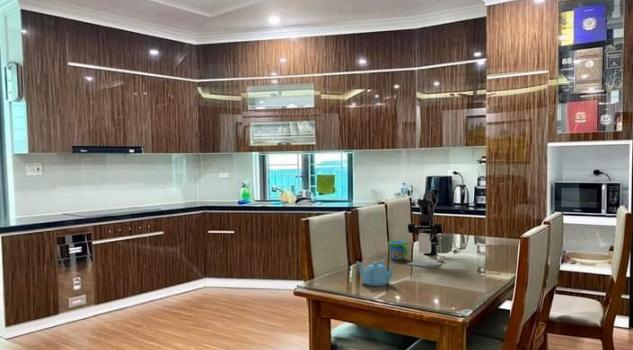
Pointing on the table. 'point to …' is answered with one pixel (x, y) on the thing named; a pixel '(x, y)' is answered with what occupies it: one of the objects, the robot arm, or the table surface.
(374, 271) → the teapot
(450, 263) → the table surface
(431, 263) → the mat
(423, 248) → the cover
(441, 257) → the silver metallic cylinder
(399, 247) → the snack cup
